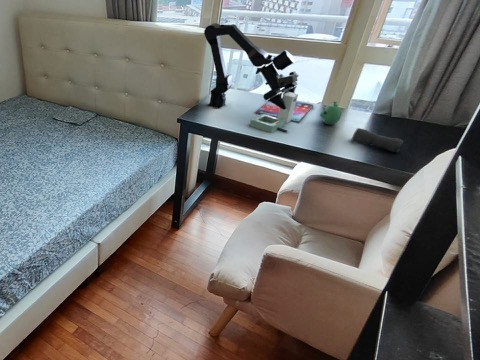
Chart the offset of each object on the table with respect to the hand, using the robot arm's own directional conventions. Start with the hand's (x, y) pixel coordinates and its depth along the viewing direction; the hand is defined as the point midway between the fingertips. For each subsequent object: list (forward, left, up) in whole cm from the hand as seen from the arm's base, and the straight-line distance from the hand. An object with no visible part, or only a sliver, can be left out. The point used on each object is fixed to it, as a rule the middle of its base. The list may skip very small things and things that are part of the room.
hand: (290, 106), depth 163 cm
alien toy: (+14, +9, -7) cm, 18 cm away
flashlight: (+34, -2, -7) cm, 35 cm away
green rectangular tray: (-2, -11, -7) cm, 13 cm away
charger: (-1, 0, -7) cm, 7 cm away
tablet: (-6, +13, -7) cm, 16 cm away
